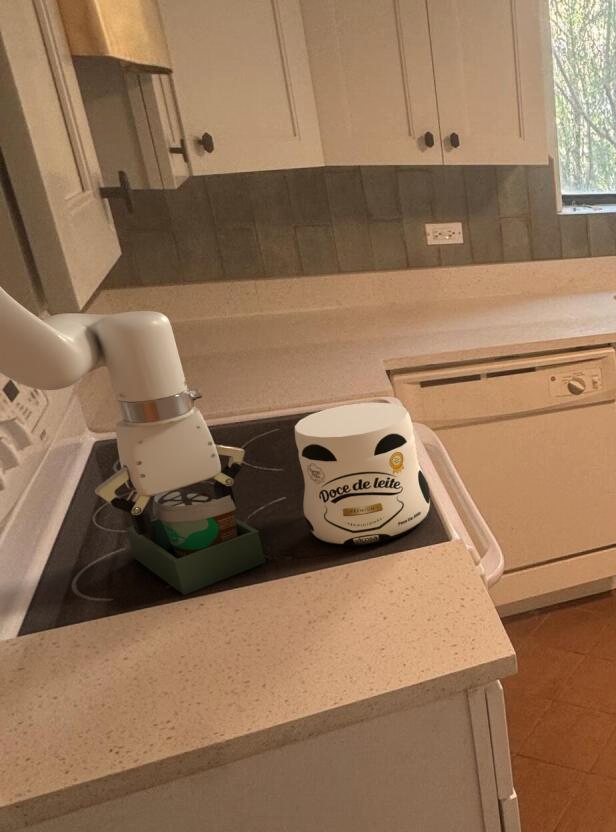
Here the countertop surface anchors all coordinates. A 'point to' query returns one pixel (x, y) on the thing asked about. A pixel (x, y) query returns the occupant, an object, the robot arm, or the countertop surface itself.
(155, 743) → the countertop surface
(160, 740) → the countertop surface
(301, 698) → the countertop surface
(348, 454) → the milk container
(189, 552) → the food container
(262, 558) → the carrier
